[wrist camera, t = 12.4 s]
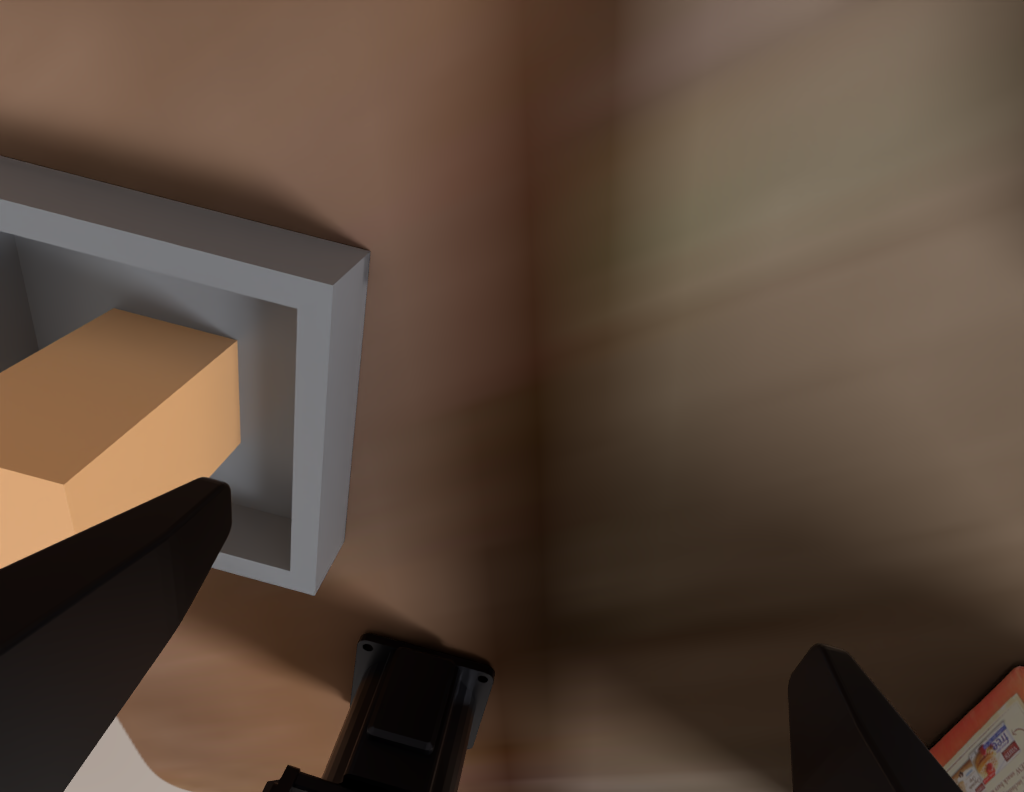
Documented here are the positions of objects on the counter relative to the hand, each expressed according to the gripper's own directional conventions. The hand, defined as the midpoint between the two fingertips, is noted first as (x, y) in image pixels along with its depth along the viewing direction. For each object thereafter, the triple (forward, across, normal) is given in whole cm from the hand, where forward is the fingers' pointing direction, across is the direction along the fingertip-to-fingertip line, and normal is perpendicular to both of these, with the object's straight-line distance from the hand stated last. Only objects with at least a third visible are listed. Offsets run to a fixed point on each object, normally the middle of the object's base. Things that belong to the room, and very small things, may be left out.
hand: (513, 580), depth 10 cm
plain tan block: (+12, +13, +7) cm, 19 cm away
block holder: (+12, +13, +7) cm, 19 cm away
